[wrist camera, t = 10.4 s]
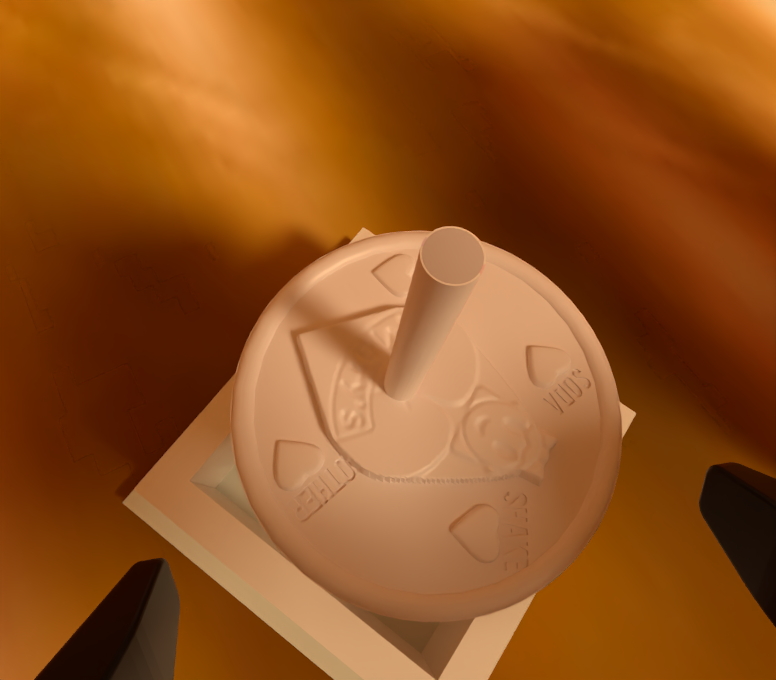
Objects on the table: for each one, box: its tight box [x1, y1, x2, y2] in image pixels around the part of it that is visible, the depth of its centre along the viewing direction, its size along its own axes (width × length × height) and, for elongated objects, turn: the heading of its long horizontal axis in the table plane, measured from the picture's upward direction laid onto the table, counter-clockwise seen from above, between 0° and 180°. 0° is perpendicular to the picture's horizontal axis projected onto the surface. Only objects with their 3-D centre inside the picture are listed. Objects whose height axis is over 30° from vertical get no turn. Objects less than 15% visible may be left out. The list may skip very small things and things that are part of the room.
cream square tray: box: [122, 227, 636, 680], centre depth 16 cm, size 12×12×4 cm
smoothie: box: [230, 226, 622, 622], centre depth 11 cm, size 6×6×14 cm
